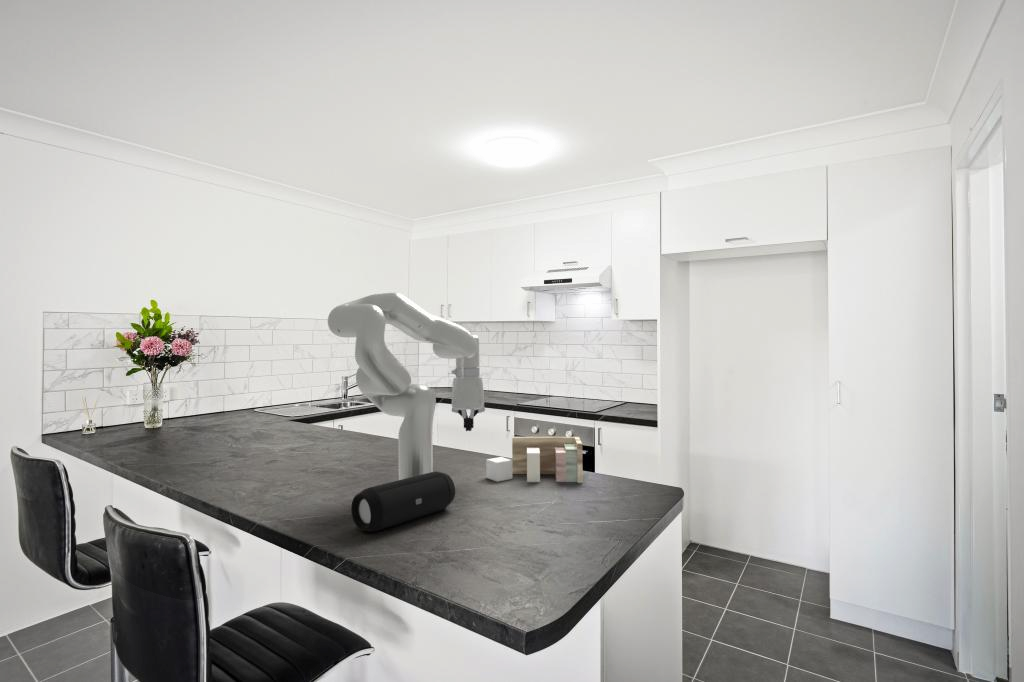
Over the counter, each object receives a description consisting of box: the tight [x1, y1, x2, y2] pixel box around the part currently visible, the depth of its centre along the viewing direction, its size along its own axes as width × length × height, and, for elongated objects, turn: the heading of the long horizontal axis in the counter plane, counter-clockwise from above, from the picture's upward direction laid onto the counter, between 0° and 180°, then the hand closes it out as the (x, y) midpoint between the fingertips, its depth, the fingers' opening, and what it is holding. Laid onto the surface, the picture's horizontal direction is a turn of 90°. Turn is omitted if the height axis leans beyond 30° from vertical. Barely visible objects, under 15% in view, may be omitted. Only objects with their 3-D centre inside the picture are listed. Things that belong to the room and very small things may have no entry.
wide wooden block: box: [511, 436, 584, 484], centre depth 170 cm, size 12×22×12 cm, turn 88°
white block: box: [526, 447, 541, 483], centre depth 169 cm, size 9×4×9 cm, turn 178°
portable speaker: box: [351, 470, 456, 533], centre depth 130 cm, size 26×10×10 cm, turn 139°
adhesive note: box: [485, 456, 513, 483], centre depth 170 cm, size 6×6×6 cm
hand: (468, 430), depth 170 cm, fingers closed
